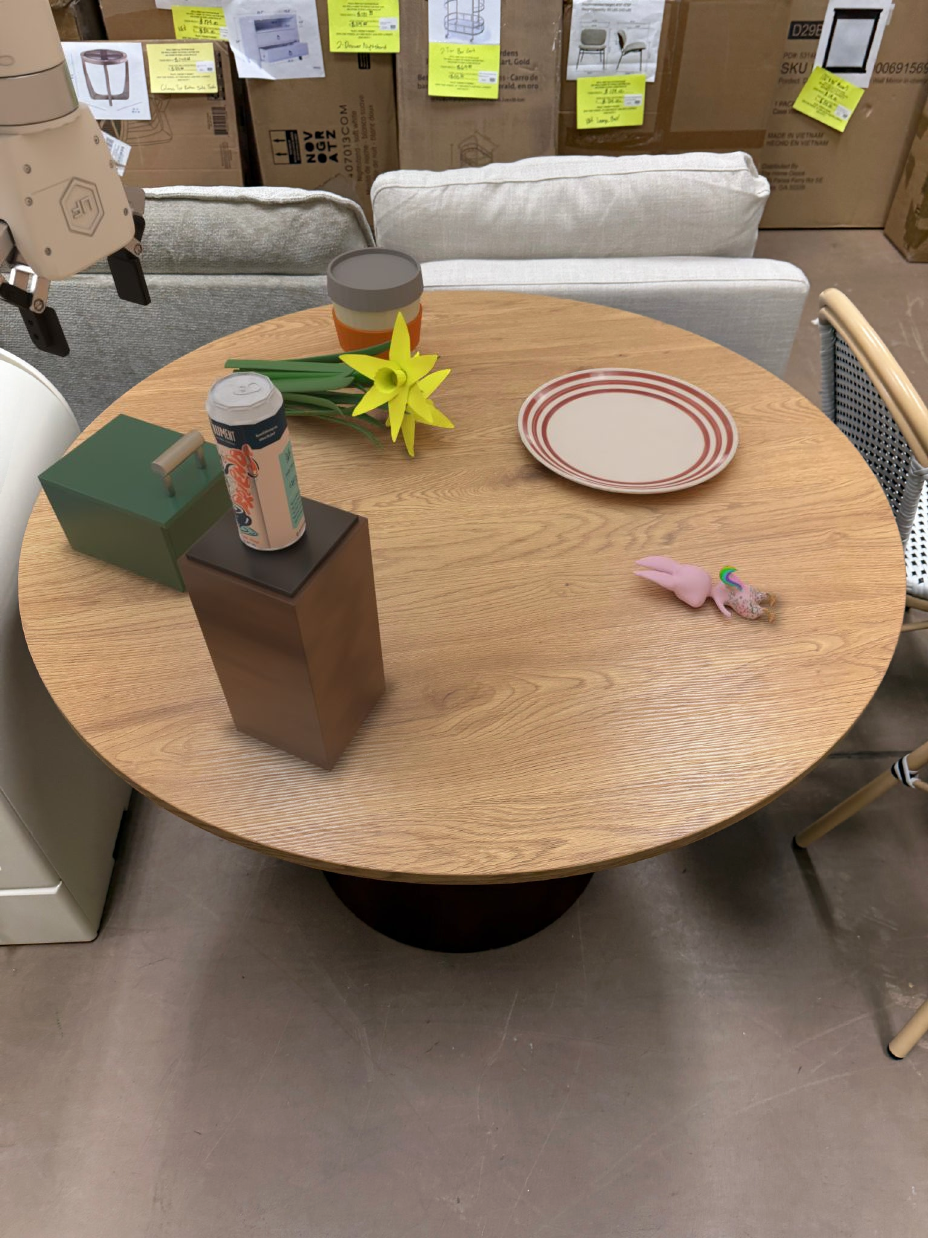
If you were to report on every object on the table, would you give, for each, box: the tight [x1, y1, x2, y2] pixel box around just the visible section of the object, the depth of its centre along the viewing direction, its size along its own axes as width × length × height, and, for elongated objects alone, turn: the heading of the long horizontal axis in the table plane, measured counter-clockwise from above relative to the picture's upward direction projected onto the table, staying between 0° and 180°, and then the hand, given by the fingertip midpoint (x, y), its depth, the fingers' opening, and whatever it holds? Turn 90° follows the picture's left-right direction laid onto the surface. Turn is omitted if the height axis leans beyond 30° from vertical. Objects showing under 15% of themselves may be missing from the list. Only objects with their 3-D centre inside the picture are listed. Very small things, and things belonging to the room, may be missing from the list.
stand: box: [177, 495, 387, 772], centre depth 68 cm, size 10×10×22 cm
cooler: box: [40, 477, 232, 593], centre depth 88 cm, size 15×12×10 cm
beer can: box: [204, 372, 306, 550], centre depth 55 cm, size 5×5×12 cm
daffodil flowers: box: [223, 311, 455, 458], centre depth 100 cm, size 17×15×35 cm
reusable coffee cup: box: [326, 246, 425, 361], centre depth 109 cm, size 13×13×15 cm
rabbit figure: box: [632, 555, 779, 624], centre depth 84 cm, size 6×6×15 cm
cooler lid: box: [37, 413, 224, 529], centre depth 82 cm, size 16×12×5 cm
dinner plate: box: [517, 367, 740, 495], centre depth 103 cm, size 27×27×3 cm
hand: (96, 325), depth 69 cm, fingers open, 9 cm apart
